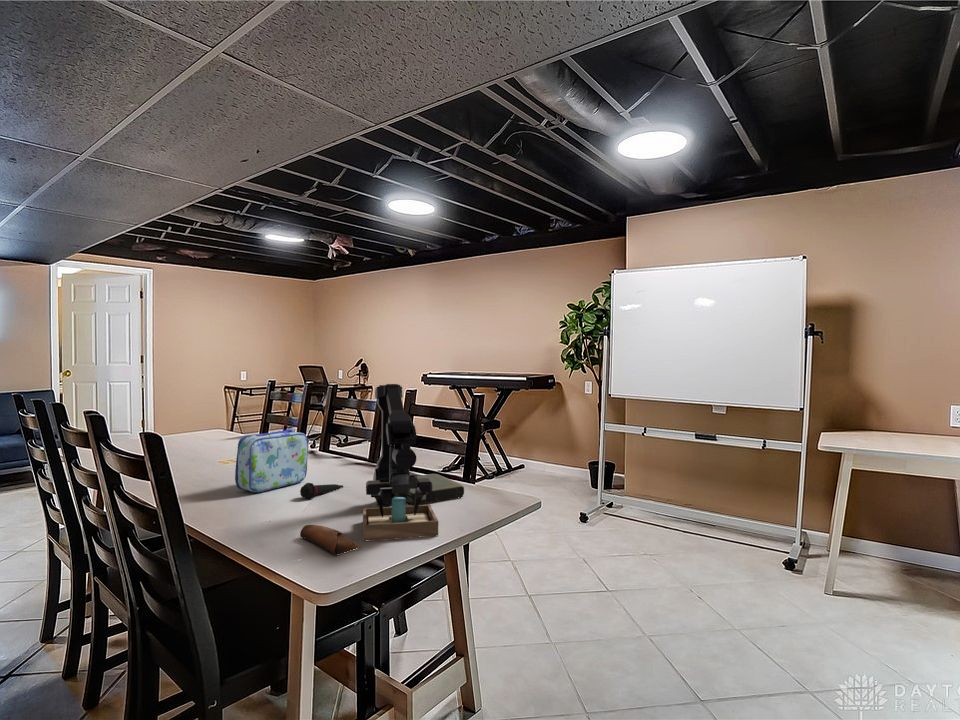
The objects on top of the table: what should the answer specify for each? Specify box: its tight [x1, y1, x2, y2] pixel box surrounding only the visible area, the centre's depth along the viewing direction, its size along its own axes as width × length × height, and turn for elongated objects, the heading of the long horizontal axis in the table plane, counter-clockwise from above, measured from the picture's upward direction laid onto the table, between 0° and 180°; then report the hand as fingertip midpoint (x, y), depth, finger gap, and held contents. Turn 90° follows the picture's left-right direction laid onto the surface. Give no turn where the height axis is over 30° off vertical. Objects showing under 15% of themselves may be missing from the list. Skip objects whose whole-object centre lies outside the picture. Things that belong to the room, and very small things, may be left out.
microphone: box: [299, 482, 344, 500], centre depth 177 cm, size 6×6×20 cm
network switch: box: [395, 473, 465, 506], centre depth 178 cm, size 23×24×5 cm
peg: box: [391, 496, 407, 523], centre depth 144 cm, size 4×4×8 cm
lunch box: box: [234, 429, 309, 493], centre depth 186 cm, size 26×11×21 cm, turn 149°
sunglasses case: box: [299, 524, 361, 556], centre depth 130 cm, size 18×7×7 cm
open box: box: [362, 504, 440, 542], centre depth 142 cm, size 16×20×4 cm
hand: (398, 515), depth 144 cm, fingers open, 9 cm apart
